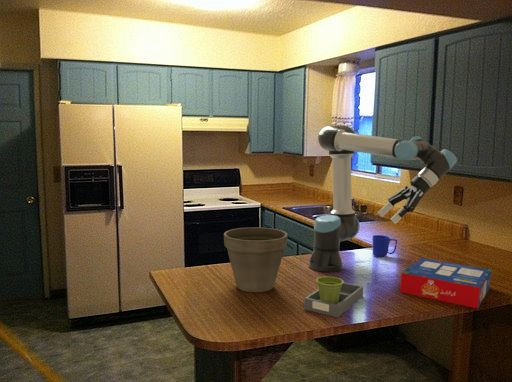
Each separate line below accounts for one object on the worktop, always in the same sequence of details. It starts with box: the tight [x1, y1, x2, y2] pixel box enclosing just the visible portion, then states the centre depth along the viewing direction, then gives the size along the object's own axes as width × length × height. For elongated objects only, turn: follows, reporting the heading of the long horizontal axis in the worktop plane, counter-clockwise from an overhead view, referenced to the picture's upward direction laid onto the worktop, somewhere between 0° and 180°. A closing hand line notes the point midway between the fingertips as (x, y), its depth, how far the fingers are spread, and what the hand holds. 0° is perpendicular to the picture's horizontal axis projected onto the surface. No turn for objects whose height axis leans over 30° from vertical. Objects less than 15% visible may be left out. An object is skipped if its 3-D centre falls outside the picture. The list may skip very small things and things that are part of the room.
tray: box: [303, 281, 364, 318], centre depth 168 cm, size 13×25×4 cm, turn 148°
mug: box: [372, 234, 398, 258], centre depth 234 cm, size 8×12×10 cm
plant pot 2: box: [315, 276, 344, 305], centre depth 163 cm, size 9×9×9 cm
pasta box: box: [399, 257, 492, 309], centre depth 185 cm, size 28×8×28 cm
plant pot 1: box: [223, 227, 288, 293], centre depth 183 cm, size 25×25×22 cm
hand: (385, 218), depth 188 cm, fingers open, 13 cm apart
